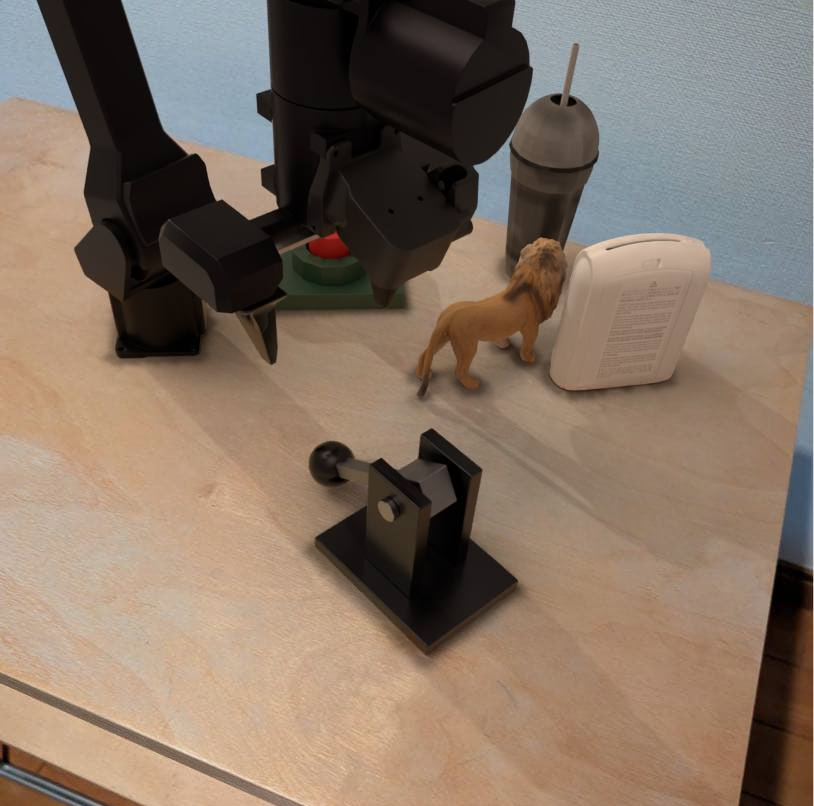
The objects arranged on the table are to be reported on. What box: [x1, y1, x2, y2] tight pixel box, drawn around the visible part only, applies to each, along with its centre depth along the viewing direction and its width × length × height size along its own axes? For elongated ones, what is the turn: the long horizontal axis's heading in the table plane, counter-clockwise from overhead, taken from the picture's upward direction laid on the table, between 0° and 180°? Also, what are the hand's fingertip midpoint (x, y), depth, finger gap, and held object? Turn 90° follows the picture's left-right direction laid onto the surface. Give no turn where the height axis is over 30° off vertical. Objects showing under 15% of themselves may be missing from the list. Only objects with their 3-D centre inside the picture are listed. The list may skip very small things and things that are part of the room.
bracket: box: [314, 427, 519, 656], centre depth 56 cm, size 11×8×10 cm
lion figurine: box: [415, 238, 569, 398], centre depth 70 cm, size 15×5×9 cm, turn 134°
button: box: [309, 232, 350, 259], centre depth 76 cm, size 4×4×2 cm
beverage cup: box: [504, 42, 600, 279], centre depth 74 cm, size 7×7×20 cm
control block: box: [275, 242, 406, 311], centre depth 78 cm, size 12×9×4 cm
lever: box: [308, 440, 457, 518], centre depth 58 cm, size 13×3×3 cm, turn 42°
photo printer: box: [549, 232, 712, 391], centre depth 69 cm, size 10×4×12 cm, turn 103°
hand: (327, 332), depth 58 cm, fingers open, 9 cm apart
